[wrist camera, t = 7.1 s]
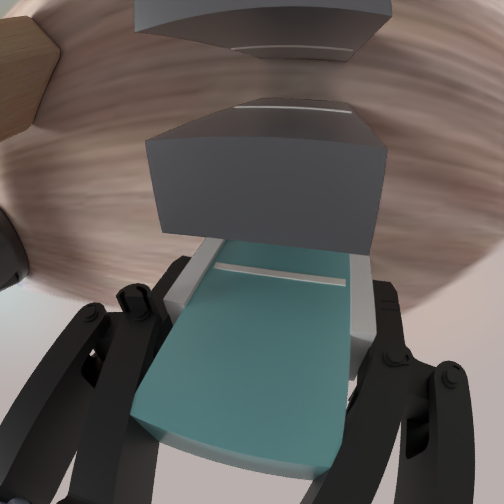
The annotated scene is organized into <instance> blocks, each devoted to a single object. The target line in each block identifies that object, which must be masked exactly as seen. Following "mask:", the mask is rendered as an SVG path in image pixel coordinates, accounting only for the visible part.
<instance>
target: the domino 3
mask: <svg viewBox="0 0 504 504" xmlns="http://www.w3.org/2000/svg"><path fill="white" fill-rule="evenodd" d="M350 345H351V335H350V256H349V253H340V252H332V251H324V250H315V249H307V248H298V247H289V246H281V245H272V244H263V243H254V242H245V241H236V240H227V239H226V240H225V242H224V244H223V245H222V247H221V249H220V250H219V252H218V253H217V255H216V257H215V258H214V260H213V262H212V263H211V265H210V267H209V268H208V270H207V272H206V273H205V275H204V277H203V278H202V280H201V282H200V283H199V285H198V287H197V288H196V290H195V292H194V293H193V295H192V297H191V298H190V300H189V302H188V303H187V305H186V307H185V308H184V309H183V311H182V312H181V314H180V316H179V317H178V319H177V321H176V323H175V324H174V326H173V328H172V329H171V331H170V333H169V335H168V336H167V338H166V340H165V341H164V343H163V345H162V347H161V348H160V350H159V352H158V354H157V355H156V357H155V359H154V361H153V363H152V364H151V366H150V368H149V370H148V371H147V373H146V375H145V377H144V379H143V380H142V382H141V384H140V386H139V388H138V389H137V391H136V393H135V395H134V399H133V403H132V407H131V412H130V415H131V416H132V417H133V418H134V419H135V420H136V421H137V422H138V423H139V424H140V425H141V426H142V427H143V428H145V429H146V430H147V431H148V432H149V433H150V434H151V435H152V436H153V437H155V438H156V439H157V440H158V441H159V442H161V443H163V444H166V445H169V446H171V447H174V448H176V449H179V450H182V451H185V452H188V453H191V454H193V455H196V456H199V457H202V458H206V459H209V460H212V461H215V462H219V463H223V464H226V465H230V466H234V467H238V468H242V469H247V470H251V471H255V472H261V473H265V474H271V475H277V476H283V477H289V478H297V479H305V480H314V479H316V478H317V477H319V476H320V475H321V474H323V473H324V472H325V471H327V470H328V469H329V468H330V467H331V466H332V464H333V462H334V460H335V458H336V455H337V453H338V451H339V449H340V447H341V444H342V439H343V431H344V423H345V414H346V404H347V394H348V393H347V392H348V381H349V366H350Z"/></svg>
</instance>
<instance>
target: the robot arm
mask: <svg viewBox="0 0 504 504" xmlns="http://www.w3.org/2000/svg"><path fill="white" fill-rule="evenodd" d="M225 240H226V239H218V238H208V237H206V239H205V240H204V241H203V243H202V244H201V245H200V247H199V248H198V250H197V251H196V252H195V254H194V255H193V257H187V256H181V257H180V258H178V259H177V260H175V261H174V262H173V263H172V264H171V265H170V267H169V268H168V269H167V272H165V273H164V275H163V276H162V278H161V279H160V280H159V281H158V283H157V284H156V285H155V287H154V288H153V289H152V291H151V290H150V288H149V287H148V286H146V285H145V284H140V283H136V284H131V285H128V286H126V287H124V288H123V289H121V290H120V291H119V292H118V293H117V295H116V298H117V300H118V302H119V304H120V306H121V309H122V311H123V312H107V311H106V310H105V308H104V306H103V305H102V304H100V303H95V302H94V303H90V304H87V305H85V306H84V307H82V308H81V309H80V310H79V311H78V313H77V314H76V315H75V316H74V318H73V319H72V320H71V321H70V323H69V324H68V325H67V326H66V328H65V329H64V330H63V332H62V333H61V334H60V335H59V337H58V338H57V339H56V341H55V342H54V344H53V345H52V346H51V348H50V349H49V350H48V352H47V353H46V354H45V356H44V357H43V359H42V360H41V362H40V363H39V365H38V366H37V367H36V369H35V370H34V372H33V373H32V375H31V376H30V378H29V379H28V381H27V382H26V384H25V385H24V387H23V388H22V390H21V391H20V393H19V395H18V397H17V398H16V399H15V401H14V403H13V404H12V406H11V408H10V410H9V411H8V413H7V415H6V416H5V418H4V420H3V421H2V423H1V425H0V504H50V503H51V501H52V499H53V498H54V496H55V494H56V492H57V490H58V488H59V486H60V484H61V481H62V479H63V477H64V475H65V473H66V471H67V469H68V467H69V465H70V463H71V461H72V459H73V457H74V455H75V453H76V451H77V454H76V459H75V463H74V467H73V472H72V476H71V482H70V487H69V492H68V495H67V496H66V498H65V499H62V500H61V501H59V502H57V504H151V501H152V493H153V485H154V477H155V469H156V462H157V455H158V448H159V441H158V440H157V439H156V438H155V437H153V436H152V435H151V434H150V433H149V432H148V431H147V430H146V429H145V428H143V427H142V426H141V425H140V424H139V423H138V422H137V421H136V420H135V419H134V418H133V417H132V416H131V415H130V412H131V407H132V403H133V399H134V395H135V393H136V391H137V389H138V388H139V386H140V384H141V382H142V380H143V379H144V377H145V375H146V373H147V371H148V370H149V368H150V366H151V364H152V363H153V361H154V359H155V357H156V355H157V354H158V352H159V350H160V348H161V347H162V345H163V343H164V341H165V340H166V338H167V336H168V335H169V333H170V331H171V329H172V328H173V326H174V324H175V323H176V321H177V319H178V317H179V316H180V314H181V312H182V311H183V309H184V308H185V307H186V305H187V303H188V302H189V300H190V298H191V297H192V295H193V293H194V292H195V290H196V288H197V287H198V285H199V283H200V282H201V280H202V278H203V277H204V275H205V273H206V272H207V270H208V268H209V267H210V265H211V263H212V262H213V260H214V258H215V257H216V255H217V253H218V252H219V250H220V249H221V247H222V245H223V244H224V242H225ZM349 256H350V335H351V345H350V366H349V380H351V381H353V380H354V379H355V377H356V376H357V386H356V388H355V389H354V391H353V393H352V395H351V396H350V398H349V400H348V401H349V404H348V407H347V409H346V414H345V423H344V431H343V439H342V444H341V447H340V449H339V451H338V453H337V455H336V458H335V460H334V462H333V464H332V466H331V467H330V468H329V469H328V470H327V471H325V472H324V473H323V474H321V475H320V476H319V477H317V478H316V479H314V480H313V482H312V484H311V486H310V487H309V489H308V491H307V493H306V495H305V496H304V498H303V499H302V501H301V503H300V504H371V503H372V500H373V498H374V496H375V494H376V491H377V489H378V487H379V484H380V482H381V479H382V477H383V474H384V471H385V469H386V466H387V463H388V461H389V458H390V455H391V452H392V449H393V446H394V443H395V439H396V436H397V433H398V429H399V425H400V422H401V440H400V455H399V467H398V477H397V485H396V492H395V499H394V504H473V495H474V480H475V445H474V444H475V443H474V426H473V416H472V407H471V398H470V391H469V385H468V379H467V375H466V373H465V371H464V369H463V368H462V367H461V365H459V364H457V363H456V362H453V361H444V362H442V363H440V364H439V365H438V366H437V367H433V366H431V365H428V364H425V363H423V362H420V361H418V360H417V359H415V358H414V357H413V355H412V353H411V351H410V349H409V348H407V347H406V345H405V341H404V334H403V326H402V319H401V313H400V306H399V304H398V302H399V301H398V295H397V291H396V289H395V288H394V287H393V285H392V284H391V282H386V281H377V280H372V274H371V266H370V258H369V256H365V255H357V254H349ZM28 273H29V265H28V260H27V257H26V254H25V251H24V249H23V247H22V244H21V242H20V240H19V238H18V236H17V234H16V232H15V230H14V229H13V227H12V225H11V224H10V222H9V220H8V219H7V217H6V216H5V215H4V213H3V212H2V211H1V210H0V291H2V290H4V289H6V288H8V287H11V286H13V285H15V284H17V283H19V282H20V281H22V279H23V278H24V277H25V276H26V275H27V274H28ZM92 349H94V351H95V353H94V354H93V355H92V356H90V353H91V351H92ZM77 449H78V450H77Z"/></svg>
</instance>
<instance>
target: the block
mask: <svg viewBox="0 0 504 504" xmlns="http://www.w3.org/2000/svg"><path fill="white" fill-rule="evenodd" d="M59 57H60V49H59V47H58V46H57V45H56V44H55V43H54V42H53V41H52V40H51V39H50V38H49V37H48V36H47V35H46V33H45V32H44V31H43V30H42V29H41V28H40V27H39V26H38V25H37V24H36V23H35V22H34V21H33V20H32V18H30V17H28V16H20V17H12V18H5V19H0V142H1V141H3V140H5V139H7V138H10V137H12V136H14V135H16V134H18V133H20V132H23V131H25V130H27V129H28V128H29V127H30V126H31V124H32V123H33V120H34V117H35V114H36V112H37V109H38V106H39V103H40V101H41V98H42V96H43V93H44V91H45V88H46V86H47V83H48V81H49V79H50V77H51V74H52V72H53V70H54V68H55V66H56V64H57V62H58V60H59Z"/></svg>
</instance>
